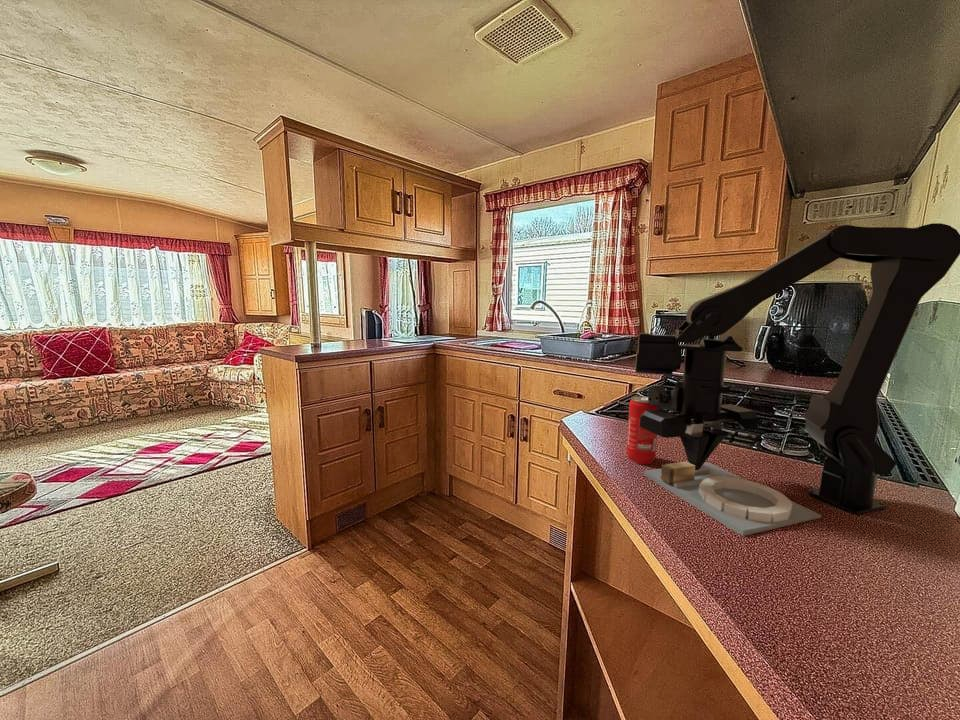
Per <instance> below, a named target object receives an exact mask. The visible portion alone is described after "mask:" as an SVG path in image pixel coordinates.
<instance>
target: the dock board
mask: <svg viewBox="0 0 960 720" xmlns="http://www.w3.org/2000/svg"><path fill="white" fill-rule="evenodd" d="M661 472H662V467H661V468H654V469H646V470H643V476H644V477H646V478H648V479H649V480H651V481H652V482H654V483H656V484H658V485H659V486H661V487H662V488H664V489H665V490H667V491H669V492H671V493H672V494H673V495H675V496H677V497H678V498H680V499H682V500H683V501H685V502H687V503H688V504H690V505H691V506H693V507H695V508H696V509H698V510H699V511H701V512H703V513H705V514H706V515H708V516H709V517H711V519H712V518H713V519H714V520H715V521H717V522H719V523H720V524H722V525H724V526H725V527H727V528H729V529H730V530H731V531H734V532H735V533H736V534H738V535H740V536H742V537H745V536H748V535H753V534H754V535H755V534H756V533H757V534H758V533H761V532H766V531H770V530H774V529H779V528H782V527H786V526H792V525H795V524H800V523H803V522H804V523H805V522H808V521H812V520H816V519H820V518H822V514H821V513H820V514H819V513H818V512H816V511H814V510H811V509H809V508H807V507H805V506H803V505H801V504H799V503H797V502H794V501H792V500H790V499H789V498H788V497H787V496H786V495H785V494H783V493H781V491H778V490H776V489H774V488H771V487H769V486H767V485H765V484H762V483H758V482H755V481H753V480H752V481H751V480H748V479H745V478H743V477H740V476H738V475H737V474H734V473H732V472H730V471H728V470H726V469H723V468H721V467H720V466H717V465H716V464H713V463H711V462H707V461H705V462H704V464H703V465H702V466H701V468H700V469H699V470H696V471H695V477H694V480H689V481H683V482H676V483H672V484H668V483H667V482H665V481H663V480H662V479H661Z"/></svg>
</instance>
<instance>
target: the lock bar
mask: <svg viewBox="0 0 960 720" xmlns="http://www.w3.org/2000/svg"><path fill="white" fill-rule="evenodd" d="M661 468H662V472H661V479H662V480H663V481H665V482H667V483H668V484H672V483H676V482H683V481H689V480H694V477H695V465H693V464H691V463H689V462H688V461H680V462H673V463H664V464H661Z"/></svg>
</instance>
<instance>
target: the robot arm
mask: <svg viewBox="0 0 960 720" xmlns="http://www.w3.org/2000/svg"><path fill="white" fill-rule="evenodd" d="M959 257H960V233H959V231H958V230H957V229H956V228H954V227H952V226H951V225H948V224H945V223H942V222H941V223H940V222H939V223H938V222H937V223H929V224H928V223H927V224H925V225H924V224H923V225H920V226H916V227H905V226H904V227H903V226H902V227H900V226H899V227H897V226H895V227H894V226H893V227H891V226H889V227H886V226H885V227H884V226H883V227H882V226H881V227H880V226H878V227H875V226H874V227H871V226H857V225H852V224H844V225H843V224H842V225H839V226H837V227H833V228H831V229H829V230H826V231H823V232H822V233H821V234H819V236H818V237H816V238H815V239H814V240H812V241H810V242H809V243H807V244H805V245H804V246H802V247H800V248H799V249H797V250H795V251H793V252H792V253H790V254H788V255H787V256H785V257H784V258H782V259H780V260H778V261H776V262H775V263H773V264H772V265H770V266H768V267H766V268H765V269H764V270H761V271H760V272H758V273H757V274H755V275H753V276H751V277H749V278H748V279H747V280H745V281H743V282H742V283H739V284H736V285H735V286H732V287H730V288H727V289H725V290H722V291H720V292H717V293H714V294H712V295H709V296H707V297H704V298H702V299H699V300H697V301H695V302H694V303H693V304H692V305H690V306H689V308H688V309H687V313H686V316H685V317H686V319H685V321H684V322H683V323H682V324H681V325H679V327H678V328H677V329H675V332H673V333H672V334H669V335H668V334H652V333H648V332H639V335H638V346H637V350H636V352H635V353H636V354H635V355H636V357H635V370H634V371H635V374H643V375H644V374H645V375H646V374H647V375H657V376H658V375H659V376H660V375H661V376H662V375H663V376H672V375H673V372H677V371H679V370H681V367H682V354H683V353H682V352H683V350H685V351H684V362H683V373H682V374H683V375H682V380H676V383H675V386H674V389H667V390H666V389H665V387H664V386H663V385H657V386H656V385H654V386H649V387H648V392H647V397H648V401H649V404H650V405H657V410H651V411H645V412H644V413H643V414H642V415H641V418H640V427H642V428H644V429H646V430H648V431H650V432H652V433H654V434H657V436H660V437H661V438H667V439H669V438H680V440H681V443H682V446H683V447H684V448H683V449H684V452H685V455H686V458H687V462H689V463H691V464H693V465H695V471H696V470H699V469H700V468H701V466H702V465H703V464H704V463H706V462H707V460H708V458H709V457H710V456H711V454H712V453H713V452H714V451H715V449H716V448H718V446H719V445H720V444H721V443H722V442H723V441H724V439H725V438H726V437H730V432H729V431H726V430H723V427H724V426H723V424H725V423H726V424H727V423H737V424H738V426H739V427H740V429H742V430H745V431H747V430H756V429H758V428H759V427H758V425H759V416H758V414H757V413H756V412H755V410H753V409H750V408H746V407H743V406H739V405H735V404H729V403H728V404H722V401H723V394H729V393H730V386H729V385H724V382H725V381H724V380H725V379H724V378H725V371H726V361H727V352H732V353H733V352H735V353H736V352H738V353H741V352H742V351H743V350H744V349H743V347H742V346H741V345H739V344H738V343H737V341H735V339H734V337H733V336H732V335H729V334H728V335H725V337H723V338H722V339H709V338H708V339H707V338H705V339H704V338H703V337H712V338H713V337H719V336H721V335H723V334H725V333H726V332H728V331H729V330H730V329H731V328H733V327H735V325H736V324H738V323H739V322H741V321H742V320H743V319H744V318H745V317H746V316H748V314H749V313H751V312H752V310H754V309H755V308H756V307H757V306H759V305H760V304H761V303H762V302H764V301H766V300H768V299H769V298H772V297H773V296H775V295H776V294H778V293H780V292H782V291H783V290H785V289H787V288H789V287H791V286H793V285H794V284H796V283H798V282H799V281H801V280H802V279H805V278H806V277H808V276H810V275H811V274H813V273H815V272H817V271H818V270H821V269H823V268H824V267H826V266H827V265H830V264H831V263H833V262H835V261H836V260H838V259H842V260H847V261H852V262H856V263H865V264H871V269H870V280H871V287H872V294H871V297H870V299H869V302H868V304H867V307H866V309H865V311H864V314H863V316H862V319H861V321H860V323H859V325H858V329H857V331H856V334H855V336H854V338H853V341H852V343H851V345H850V347H849V350H848V353H847V355H846V358H845V360H844V362H843V364H842V368H841V370H840V373H839V375H838V377H837V380H836V382H835V385H834V386H833V388H832V389H831V390H829V391H828V392H827V393H826V394H825V395H823V396H821V395H818V394H815V393H812V395H811V397H810V402H809V406H808V409H807V410H806V412H805V413H804V414H803V415H802V417H801V418H803V419H805V425H804V426H805V431H807V433H808V436H810V438H812V439H813V440H815V441H816V443H817V446H818V448H819V450H820V451H821V452H823V453H825V454H826V455H825V457H824V459H823V465H822V471H821V476H820V482H819V488H813V489H808V491H807V493H808V495H810V496H812V497H815V498H817V499H820V500H822V501H824V502H826V503H829V504H831V505H834V506H836V507H838V508H841V509H843V510H845V511H846V512H850V513H852V514H855V515H860V514H865V513H871V512H875V511H879V510H884V509H886V508H887V504H886V503H883V502H880V501H878V500H875V499H874V498H875V492H876V487H877V479H878V476H879V475H880V476H881V475H882V476H889V475H890V474H891V473H892V471H893V469H894V468H895V467H896V466H897V461H896V460H895V459H894V458H893V457H891V456H890V455H889V454H888V453H887V452H886V451H885V449H883V448H882V447H881V446H880V445H879V444H878V443H876V441H877V436H878V431H879V426H880V414H879V407H878V397H879V395H880V392H881V390H882V387H883V386H884V383H885V380H886V379H887V376H888V374H889V371H890V369H891V367H892V364H893V363H894V360H895V358H896V356H897V353H898V351H899V349H900V347H901V344H902V342H903V340H904V338H905V335H906V333H907V330H908V328H909V326H910V325H911V322H912V319H913V317H914V315H915V312H916V311H917V309H918V305H919V303H920V301H921V299H923V297H924V296H925V295H926V294H927V293H928V292H929V291H930V290H931V289H932V288H933V287H935V286H936V285H937V284H938V283H939V282H940V281H941V280H943V278H944V277H945V276H946V275H947V274H948V272H949V271H950V269H951V268H952V266H953V265H954V263H955V262H956V261H957V259H958V258H959ZM698 340H700V343H699V344H691V343H694V342H696V341H698ZM680 343H681V344H680ZM682 343H687V344H682ZM689 343H690V344H689ZM664 409H670V411H672V412H670V411H667V410H664ZM673 412H675V413H680V414H675V413H673Z"/></svg>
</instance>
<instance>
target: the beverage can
mask: <svg viewBox="0 0 960 720" xmlns="http://www.w3.org/2000/svg"><path fill="white" fill-rule="evenodd" d="M651 410H657V405H650V404H649V401H648V396H644V395H642V396H641V395H635V396H632V397H631V398H630V401H629V406H628V420H627V421H628V422H627V434H626V435H627V438H626V439H627V440H626V450H625V451H626V455H627V458H628V460H629V461H630V462H632V463H634V464H640V465H649V464H653V463H654V460H655V458H656V454H657V452H656V451H657V444H658V443H657V441H658V440H657V439H658V435H657V434H654V433H652V432H650V431H648V430H646V429H644V428H642V427H640V418H641V415H642V414H643V413H644V412H645V411H651Z"/></svg>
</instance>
